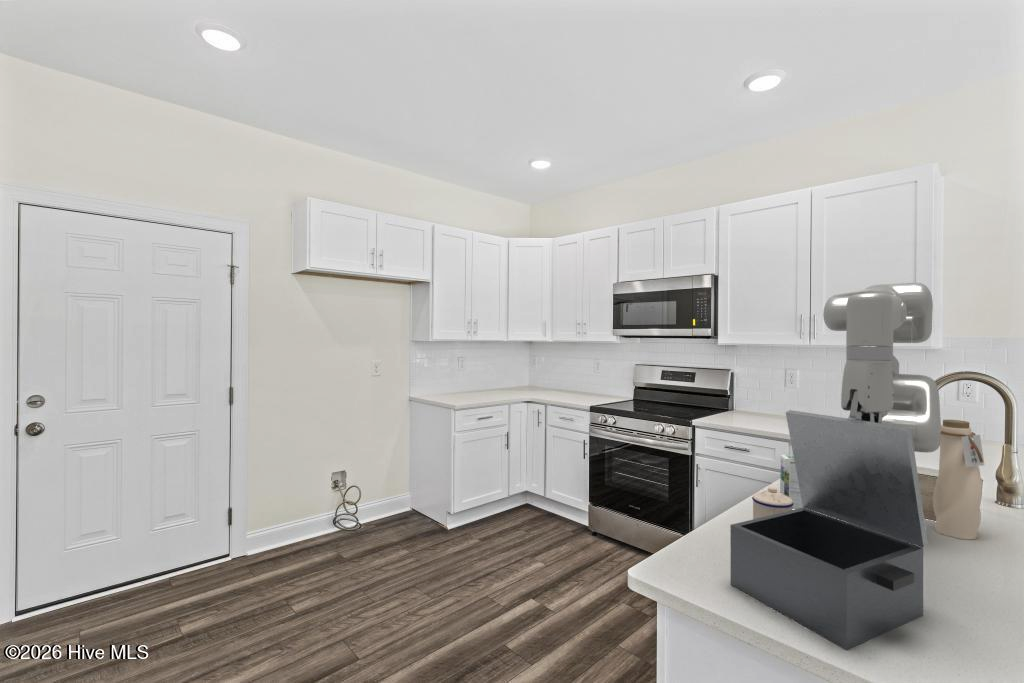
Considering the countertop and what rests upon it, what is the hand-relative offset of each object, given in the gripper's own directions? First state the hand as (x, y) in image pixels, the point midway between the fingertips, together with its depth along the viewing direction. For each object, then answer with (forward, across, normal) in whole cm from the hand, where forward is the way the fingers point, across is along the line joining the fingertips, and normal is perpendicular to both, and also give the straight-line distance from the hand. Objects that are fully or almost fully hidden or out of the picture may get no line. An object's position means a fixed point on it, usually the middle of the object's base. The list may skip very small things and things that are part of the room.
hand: (868, 446), depth 96 cm
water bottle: (+27, -46, -4) cm, 53 cm away
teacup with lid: (+27, -6, -24) cm, 37 cm away
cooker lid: (+5, +7, 0) cm, 8 cm away
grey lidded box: (+28, +14, 0) cm, 31 cm away
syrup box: (+27, -27, -34) cm, 51 cm away
